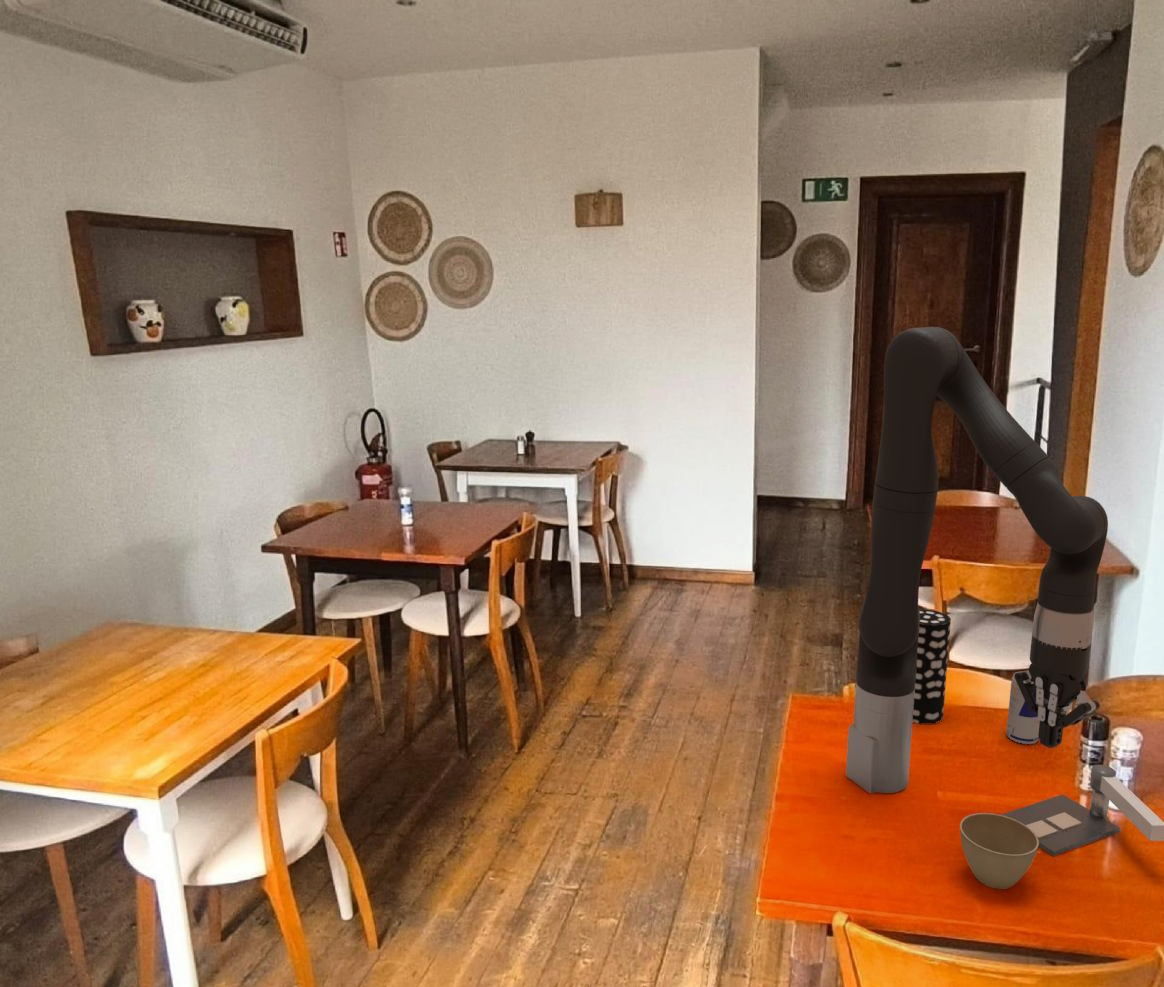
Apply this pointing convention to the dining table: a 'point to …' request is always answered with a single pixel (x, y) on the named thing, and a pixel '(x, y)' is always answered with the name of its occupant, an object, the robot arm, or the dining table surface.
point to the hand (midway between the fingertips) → (1049, 745)
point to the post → (1099, 804)
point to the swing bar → (1127, 802)
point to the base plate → (1062, 824)
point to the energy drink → (1021, 718)
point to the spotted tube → (931, 666)
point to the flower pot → (997, 848)
